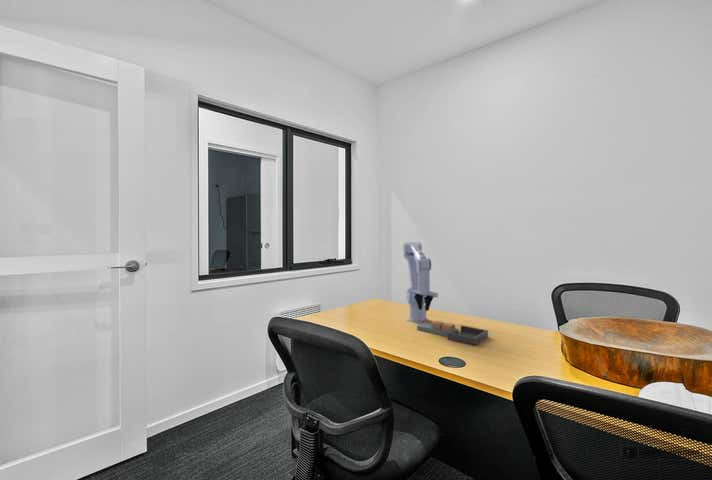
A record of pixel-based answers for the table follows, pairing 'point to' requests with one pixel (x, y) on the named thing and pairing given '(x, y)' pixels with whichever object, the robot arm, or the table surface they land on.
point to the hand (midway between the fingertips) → (423, 309)
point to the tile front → (448, 327)
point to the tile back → (437, 324)
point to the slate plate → (428, 328)
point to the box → (469, 335)
